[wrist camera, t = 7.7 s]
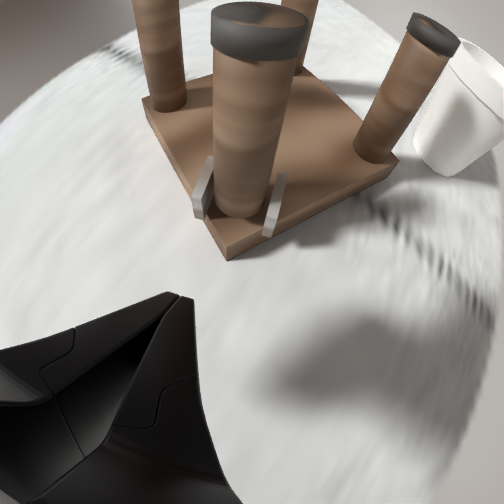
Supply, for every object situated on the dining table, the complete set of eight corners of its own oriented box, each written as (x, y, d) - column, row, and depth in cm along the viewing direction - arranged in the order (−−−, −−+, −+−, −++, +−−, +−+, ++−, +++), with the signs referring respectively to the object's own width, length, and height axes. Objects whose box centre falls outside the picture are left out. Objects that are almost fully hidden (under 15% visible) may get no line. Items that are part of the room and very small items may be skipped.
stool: (392, 183, 23) (484, 58, 9) (222, 275, 19) (212, 78, 5) (287, 73, 28) (310, -43, 14) (139, 121, 24) (105, -21, 10)
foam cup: (390, 114, 27) (438, 24, 15) (448, 130, 28) (499, 60, 16) (417, 183, 24) (496, 89, 11) (476, 194, 24) (548, 126, 12)
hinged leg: (260, 225, 16) (304, 37, 6) (205, 211, 16) (195, 21, 6) (271, 182, 18) (312, 12, 8) (221, 170, 18) (228, -2, 8)
